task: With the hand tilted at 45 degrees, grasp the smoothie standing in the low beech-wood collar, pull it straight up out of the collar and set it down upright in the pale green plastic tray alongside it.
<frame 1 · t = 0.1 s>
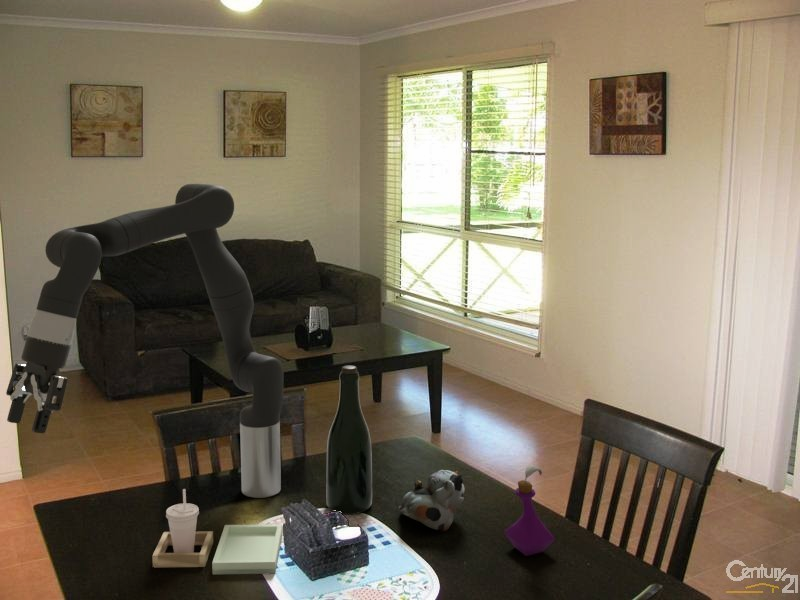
hand: (25, 427, 148), 31 cm above the table, tool tilted 20°, fingers open, 8 cm apart
smoothie: (184, 555, 167), resting in collar
tray: (249, 553, 168), on the table
collar: (184, 554, 167), on the table
lucky cat figurine: (430, 521, 184), on the table
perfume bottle: (528, 550, 171), on the table
green wine bottle: (349, 506, 190), on the table
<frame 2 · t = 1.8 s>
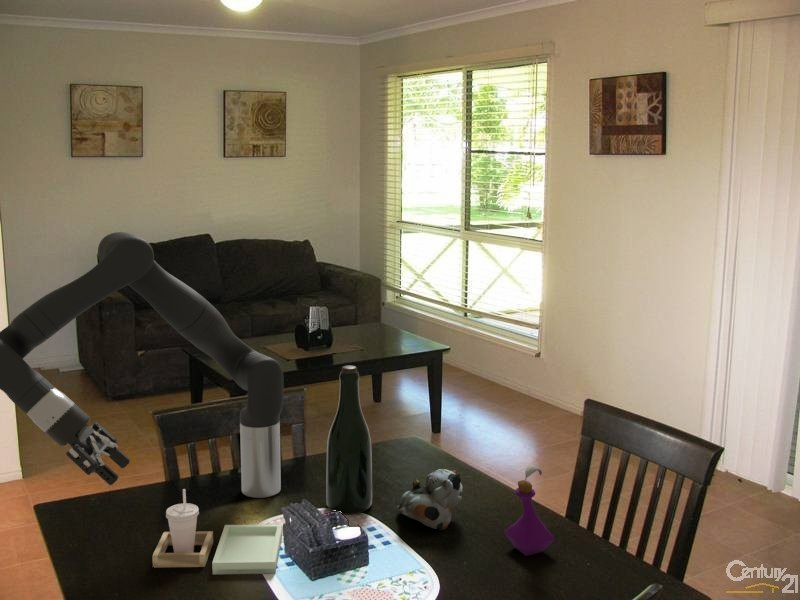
hand: (121, 472, 163), 18 cm above the table, tool tilted 45°, fingers open, 8 cm apart
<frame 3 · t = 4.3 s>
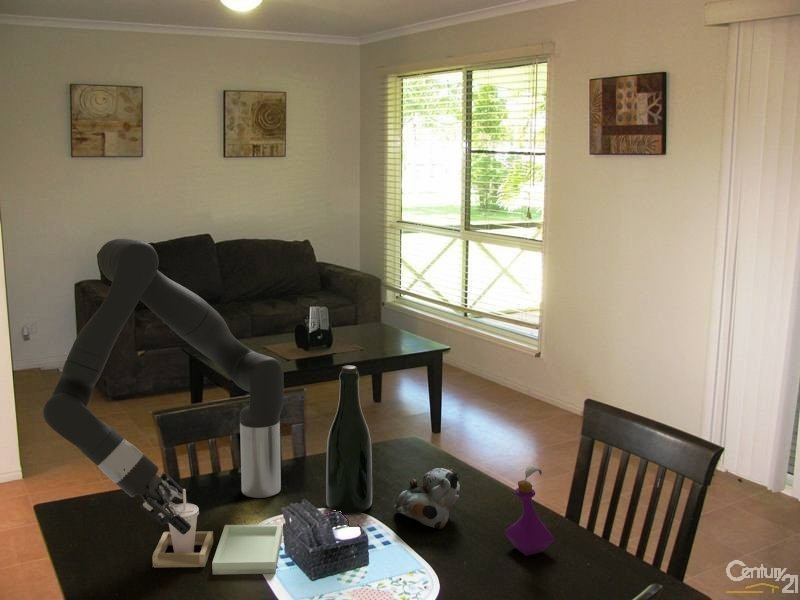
hand: (191, 522, 166), 7 cm above the table, tool tilted 45°, fingers closed on smoothie, 6 cm apart
smoothie: (184, 555, 167), resting in collar, touching gripper
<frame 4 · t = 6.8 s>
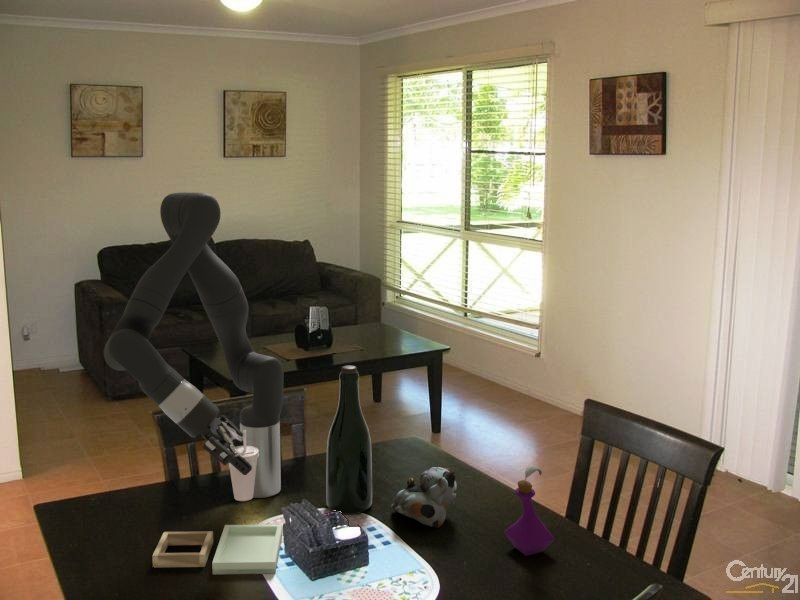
hand: (251, 464, 164), 19 cm above the table, tool tilted 45°, fingers closed on smoothie, 6 cm apart
smoothie: (243, 497, 166), point 12 cm above the table, touching gripper
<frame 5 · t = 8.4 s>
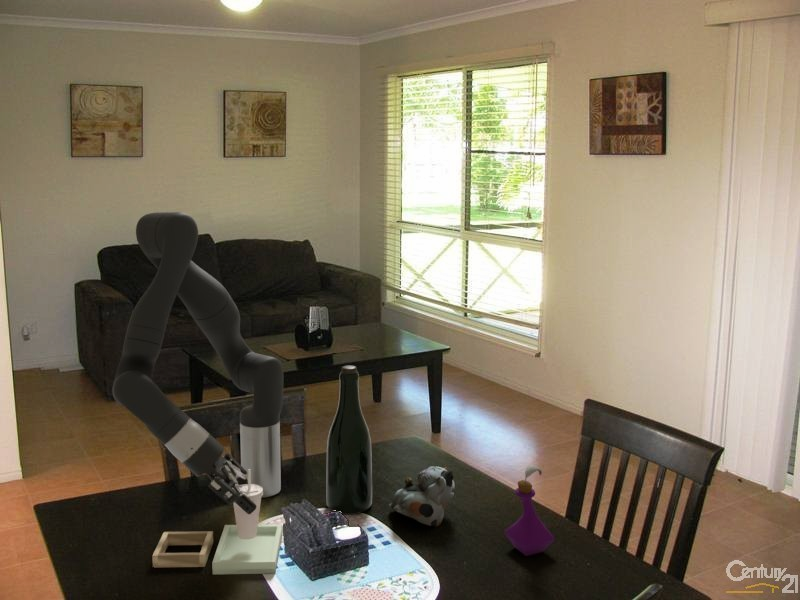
hand: (255, 503, 166), 11 cm above the table, tool tilted 45°, fingers closed on smoothie, 6 cm apart
smoothie: (247, 536, 167), point 4 cm above the table, touching gripper
when the fingers open (9 cm above the table, at t = 9.4 s): smoothie stays where it is, resting on tray.
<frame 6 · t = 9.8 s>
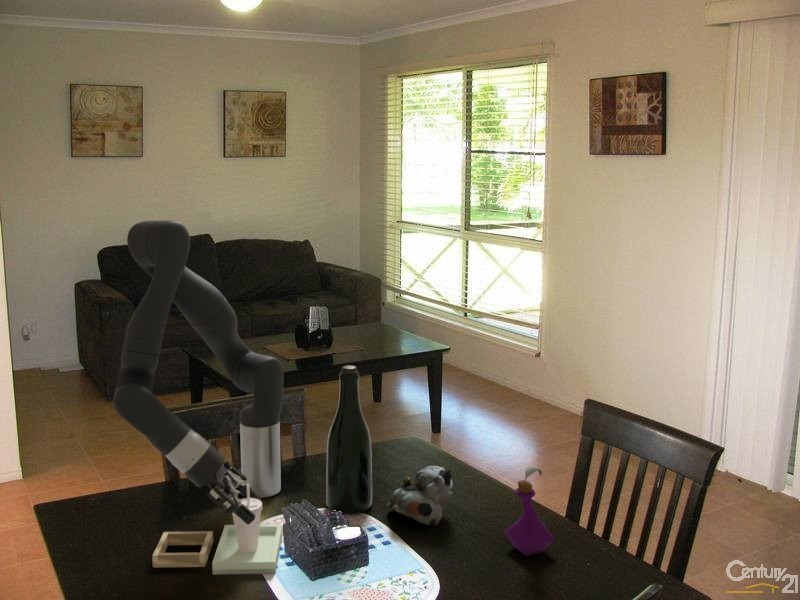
hand: (255, 511, 166), 9 cm above the table, tool tilted 45°, fingers open, 8 cm apart
smoothie: (248, 549, 167), point 1 cm above the table, touching tray
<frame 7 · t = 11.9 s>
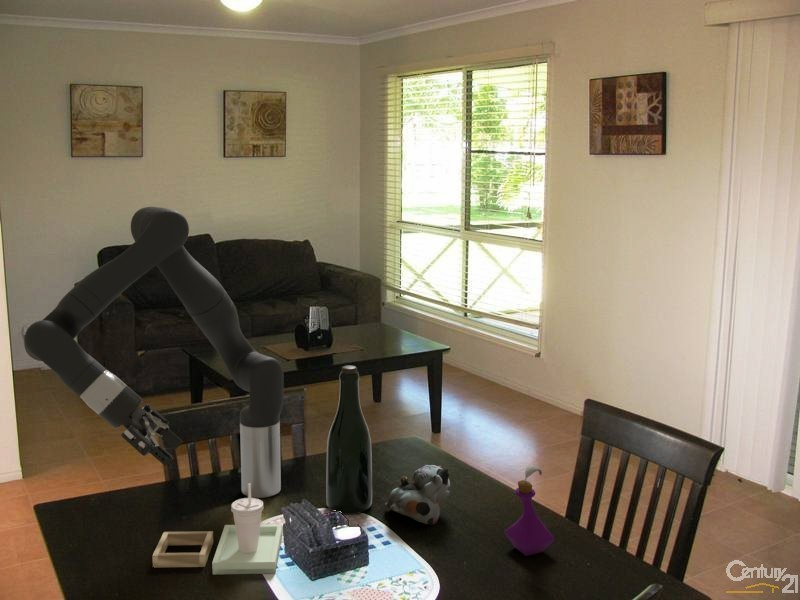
hand: (174, 453, 163), 22 cm above the table, tool tilted 45°, fingers open, 8 cm apart
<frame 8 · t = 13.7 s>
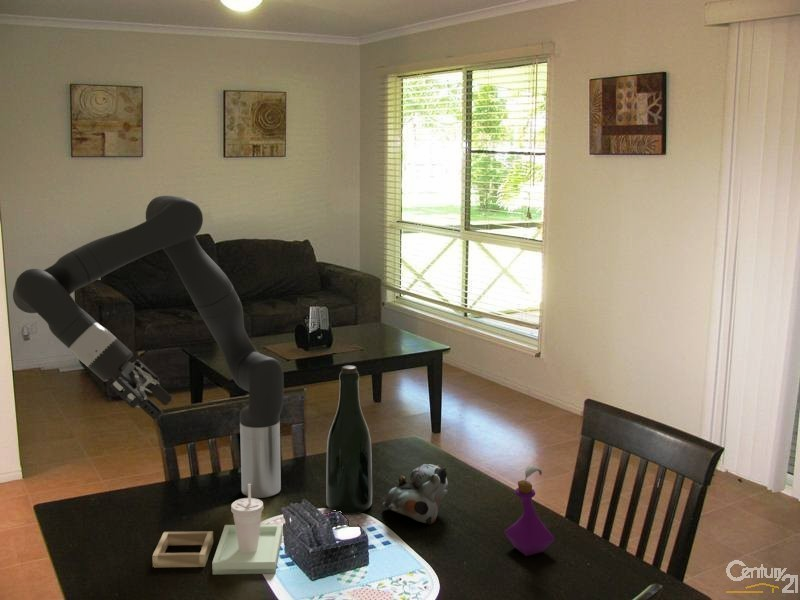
hand: (164, 408, 161), 31 cm above the table, tool tilted 45°, fingers open, 8 cm apart
at the end: smoothie inside the target area on the tray (0.2 cm from its centre), point 0.8 cm above the tray's base; smoothie tilted 0°; the gripper is holding nothing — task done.
